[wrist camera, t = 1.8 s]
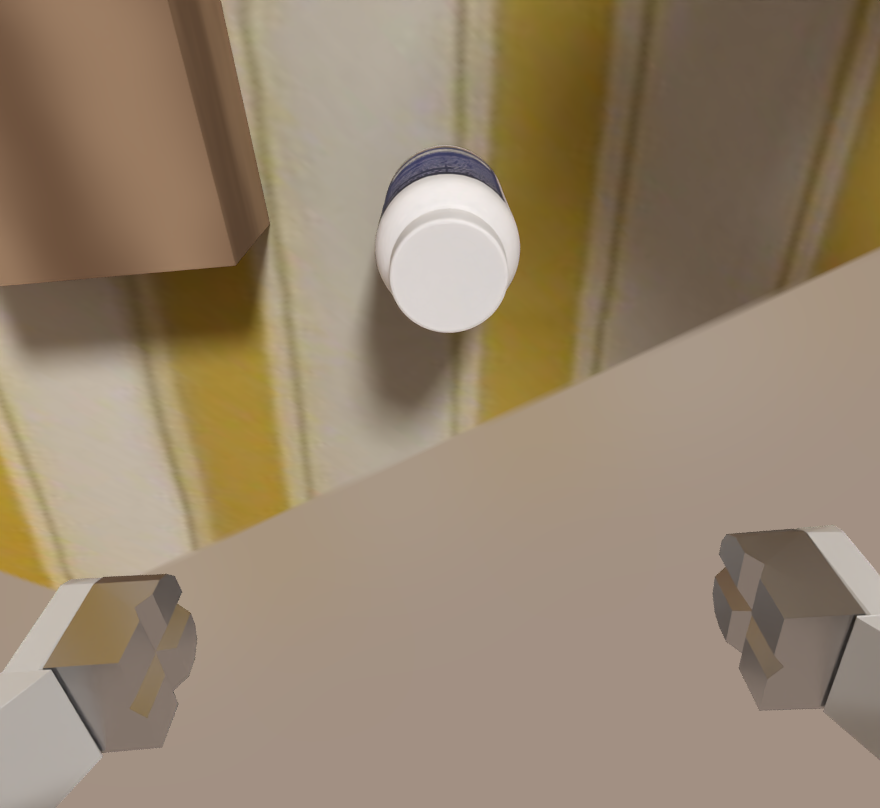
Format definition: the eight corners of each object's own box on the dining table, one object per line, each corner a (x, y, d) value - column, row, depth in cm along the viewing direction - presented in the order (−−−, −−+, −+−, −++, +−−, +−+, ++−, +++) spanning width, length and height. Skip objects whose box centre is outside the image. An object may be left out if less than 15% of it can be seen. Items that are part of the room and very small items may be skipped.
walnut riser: (198, -101, 24) (132, -136, 19) (270, 223, 30) (235, 265, 25) (-115, -67, 24) (-265, -91, 19) (19, 246, 30) (-67, 292, 25)
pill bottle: (363, 182, 29) (334, 247, 21) (468, 119, 28) (483, 160, 19) (423, 282, 31) (419, 377, 23) (522, 228, 30) (556, 307, 22)
